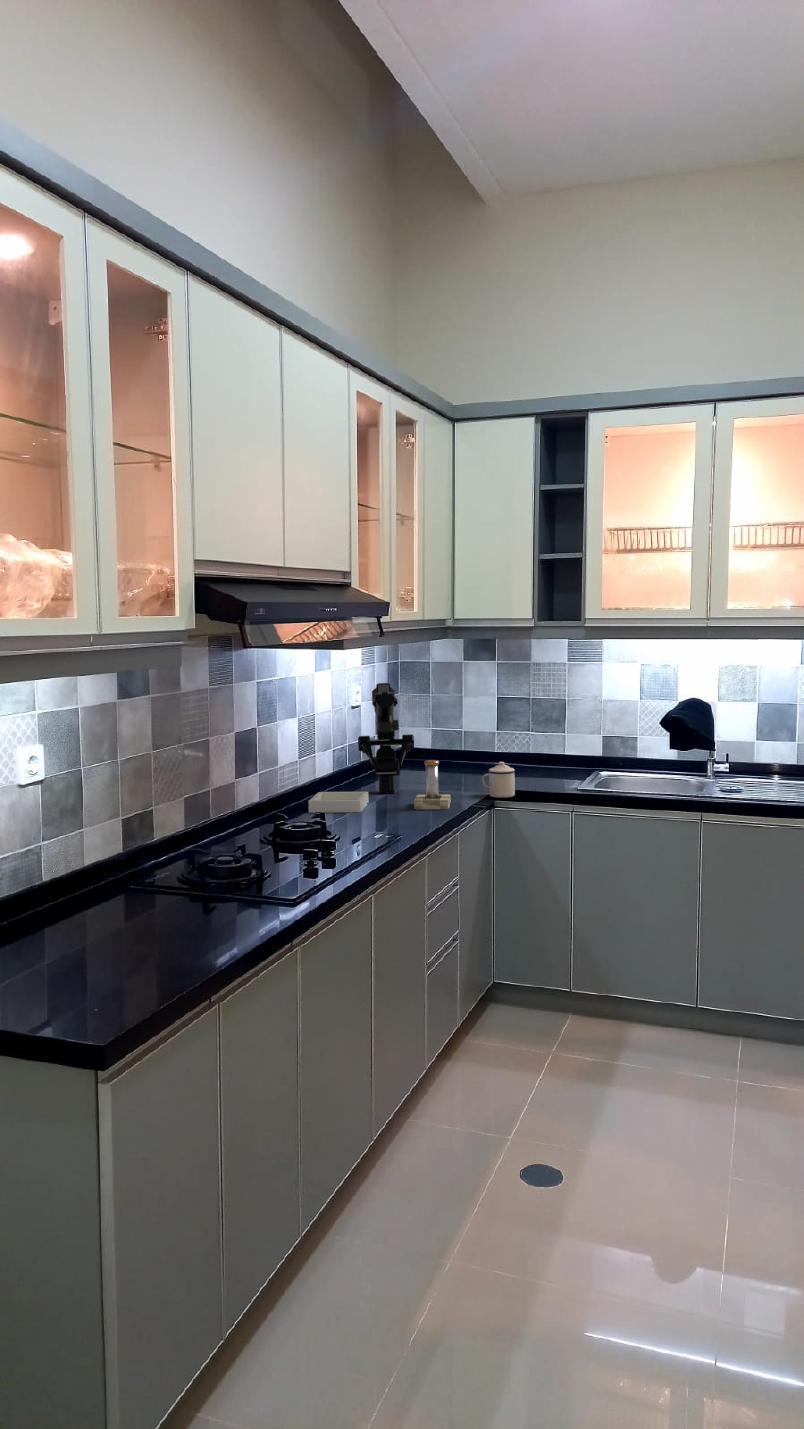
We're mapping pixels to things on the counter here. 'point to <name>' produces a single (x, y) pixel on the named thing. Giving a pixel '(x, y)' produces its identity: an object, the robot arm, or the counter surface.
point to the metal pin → (432, 779)
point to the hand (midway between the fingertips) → (386, 764)
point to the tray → (338, 802)
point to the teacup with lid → (500, 781)
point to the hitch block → (432, 802)
